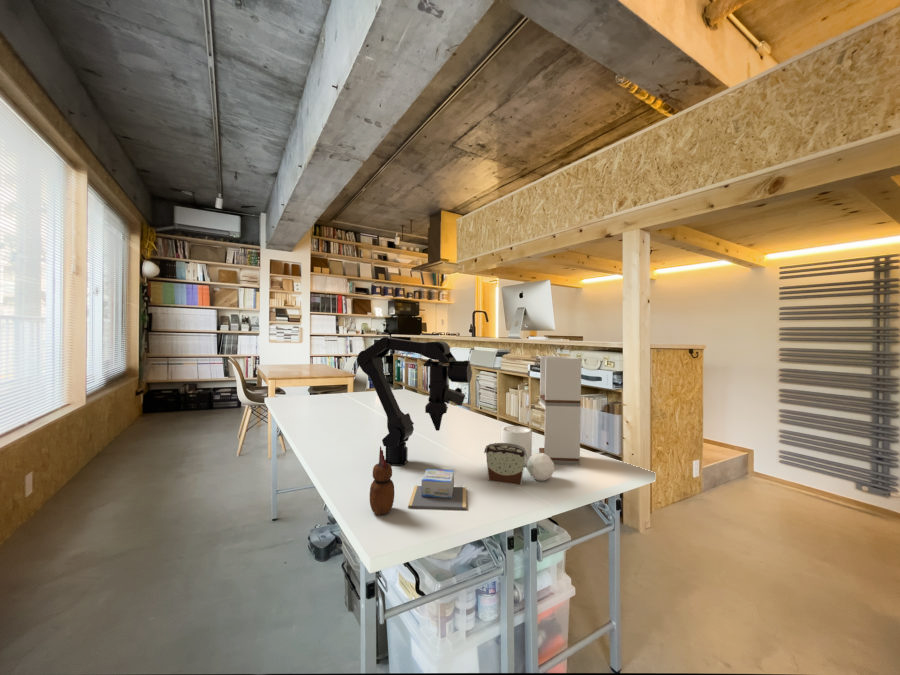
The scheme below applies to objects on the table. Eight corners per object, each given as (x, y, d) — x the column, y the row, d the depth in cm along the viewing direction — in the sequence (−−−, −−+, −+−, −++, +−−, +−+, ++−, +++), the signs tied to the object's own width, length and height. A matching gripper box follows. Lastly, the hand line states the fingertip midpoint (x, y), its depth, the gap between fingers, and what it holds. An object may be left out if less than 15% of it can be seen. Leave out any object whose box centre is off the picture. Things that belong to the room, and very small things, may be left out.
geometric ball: (546, 488, 111) (564, 468, 110) (532, 485, 106) (550, 464, 104) (531, 468, 117) (547, 449, 115) (517, 464, 112) (534, 445, 110)
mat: (408, 508, 91) (408, 505, 91) (414, 487, 103) (414, 485, 103) (465, 509, 90) (465, 507, 90) (465, 489, 102) (465, 487, 102)
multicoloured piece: (529, 478, 111) (529, 444, 111) (526, 486, 105) (526, 450, 105) (488, 473, 115) (488, 440, 115) (483, 480, 109) (484, 446, 109)
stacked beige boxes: (571, 454, 134) (572, 356, 134) (579, 464, 124) (581, 358, 123) (539, 453, 135) (540, 356, 135) (544, 463, 124) (546, 358, 124)
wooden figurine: (371, 505, 92) (372, 444, 92) (395, 504, 93) (395, 444, 93) (367, 518, 86) (368, 453, 86) (393, 517, 86) (394, 452, 86)
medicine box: (454, 469, 104) (452, 481, 95) (454, 485, 104) (451, 499, 95) (426, 468, 104) (421, 480, 96) (425, 484, 104) (421, 497, 96)
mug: (493, 453, 134) (493, 424, 134) (520, 452, 136) (520, 423, 136) (507, 467, 121) (507, 434, 120) (536, 465, 123) (537, 432, 123)
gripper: (463, 385, 109) (462, 439, 109) (464, 378, 127) (463, 424, 128) (425, 384, 109) (424, 438, 109) (431, 377, 128) (430, 423, 128)
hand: (437, 430), depth 119 cm, fingers closed
